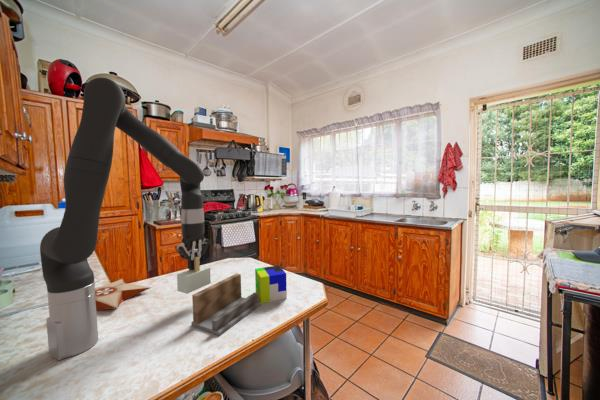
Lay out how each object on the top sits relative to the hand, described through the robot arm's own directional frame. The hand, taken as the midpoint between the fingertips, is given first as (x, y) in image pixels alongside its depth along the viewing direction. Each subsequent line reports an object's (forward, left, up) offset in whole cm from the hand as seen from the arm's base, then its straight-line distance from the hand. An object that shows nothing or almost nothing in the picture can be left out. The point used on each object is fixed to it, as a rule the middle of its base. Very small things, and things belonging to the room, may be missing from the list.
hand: (194, 268), depth 86 cm
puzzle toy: (+19, -20, -14) cm, 31 cm away
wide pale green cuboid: (0, 0, -7) cm, 7 cm away
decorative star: (-13, +35, -14) cm, 40 cm away
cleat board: (+1, -15, -14) cm, 20 cm away
